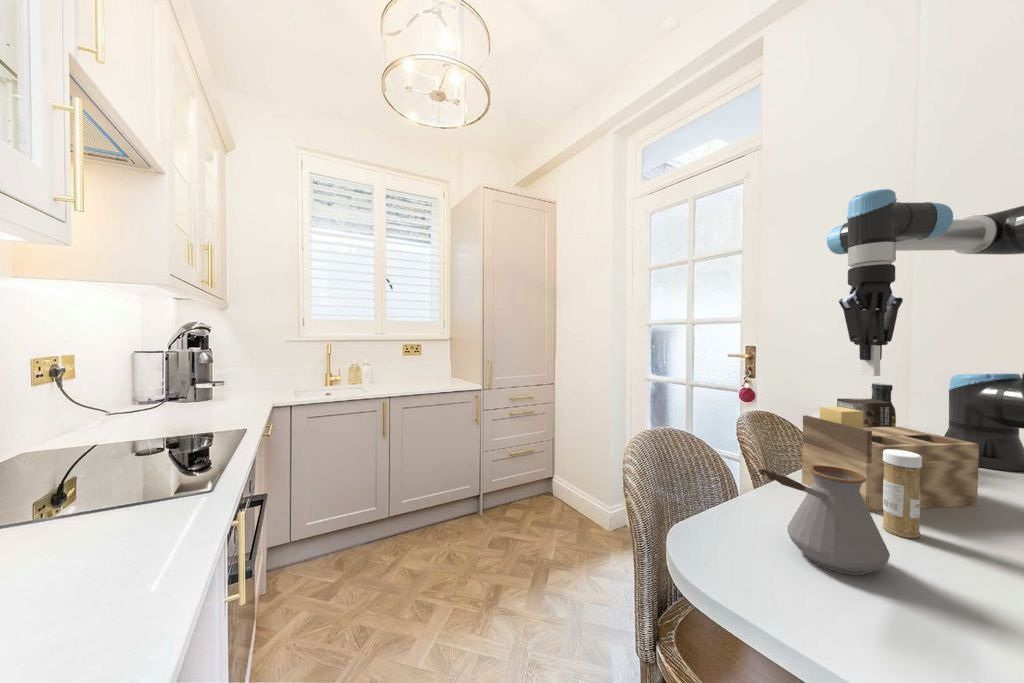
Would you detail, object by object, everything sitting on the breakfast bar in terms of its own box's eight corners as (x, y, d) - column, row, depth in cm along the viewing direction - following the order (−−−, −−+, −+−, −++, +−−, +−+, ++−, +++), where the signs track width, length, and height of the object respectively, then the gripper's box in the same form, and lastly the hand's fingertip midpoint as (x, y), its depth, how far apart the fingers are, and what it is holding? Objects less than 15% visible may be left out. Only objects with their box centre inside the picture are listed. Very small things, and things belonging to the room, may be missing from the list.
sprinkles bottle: (927, 541, 61) (929, 457, 61) (892, 536, 63) (893, 455, 63) (908, 527, 66) (909, 449, 66) (875, 523, 67) (876, 447, 67)
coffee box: (871, 458, 103) (872, 398, 103) (892, 466, 97) (894, 402, 96) (834, 457, 104) (835, 397, 104) (853, 465, 97) (854, 401, 97)
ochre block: (840, 429, 85) (840, 406, 85) (862, 435, 80) (863, 411, 80) (819, 429, 85) (819, 407, 85) (841, 435, 80) (841, 411, 80)
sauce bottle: (868, 458, 102) (869, 384, 102) (857, 452, 108) (859, 381, 108) (900, 462, 100) (902, 385, 99) (888, 455, 106) (889, 383, 105)
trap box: (897, 478, 88) (899, 413, 88) (977, 505, 74) (979, 428, 74) (801, 482, 86) (803, 415, 86) (865, 511, 72) (867, 431, 72)
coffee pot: (820, 533, 64) (821, 443, 64) (909, 574, 53) (912, 466, 53) (719, 556, 57) (721, 456, 57) (798, 609, 46) (801, 485, 46)
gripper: (879, 268, 87) (879, 372, 88) (827, 268, 86) (827, 374, 86) (917, 262, 80) (917, 376, 80) (861, 262, 78) (860, 378, 79)
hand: (870, 375), depth 83 cm, fingers closed
